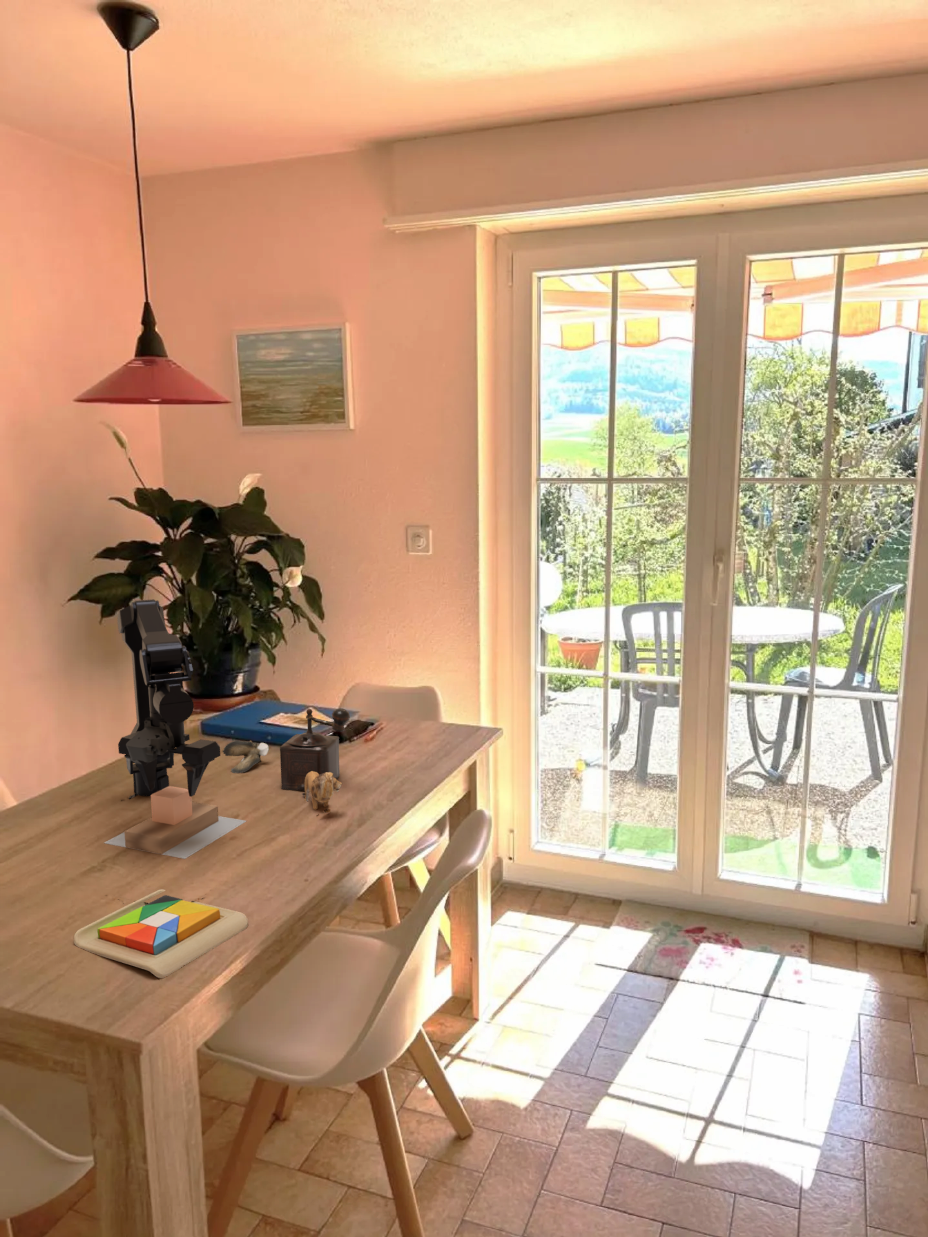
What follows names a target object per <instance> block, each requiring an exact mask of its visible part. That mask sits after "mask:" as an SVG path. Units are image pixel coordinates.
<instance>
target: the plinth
mask: <svg viewBox="0 0 928 1237" xmlns="http://www.w3.org/2000/svg"><path fill="white" fill-rule="evenodd" d="M218 816H219V806H218V805H215V804H207V803H203V802H202V803H201V802H197V801H196V802H195V801H192V816H190V817H188V818H186V819H185V820H183V821H181V822H179V823H177V824H175V825H171V824H166V823H160V822H155V821H152V816H150V817H148V818H147V819H145V820H143V821H141V822H140V823H138V824H136V825H134V826H131V827H129V828H128V829H126V830H124V831H123V833H124V832H125V846H126V847H127V848H126V847H125V848H126V849H131V848H133V850H136V849H138V851H141V850H143V851H142V852H147V851H148V853H152V852H153V854H157V853H158V854H157V855H162V854H163V853H165V852H166V851H168V850H170V849H171V848H173V847H175V846H177V845H178V844H180V843H182V842H183V841H185V840H187V839H189V838H190V837H192V836H194V835H195V834H197V833H199V832H201V831H202V830H204V829H206V828H207V827H209V826H211V825H213V824H214V823H216V822H218V821H219V819H218Z"/></svg>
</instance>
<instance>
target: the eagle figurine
mask: <svg viewBox="0 0 928 1237" xmlns="http://www.w3.org/2000/svg"><path fill="white" fill-rule="evenodd" d="M269 750H270V749H269V745H268V744H267V743H266V742H265V743H264V742H260V743H259V745H258V743H257V742H254V743H253V741H252V740H249V741H244V740H243V741H242V740H233V741H231V742H228V743H227V744H226V745H225V746H224V748H223V750H222V753H223V755H224V756H226V757H240V756H243V758H242V760H240V762H239V763H237V765H235V766H234V767H232V768H231V769H230V772H231V773H233V774H242V773H245V772H247V771H249V770H251V768H253V766H255V765H256V764H258V763H262V759H261V758H262V757H264V756H267V754H268V753H269ZM261 756H262V757H261Z"/></svg>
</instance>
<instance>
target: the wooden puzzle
mask: <svg viewBox="0 0 928 1237" xmlns="http://www.w3.org/2000/svg"><path fill="white" fill-rule="evenodd" d="M164 892H166V889H158V890H156V891H153V892H151V893H150V894H147V895H145V896H143V897H142V898H139V899H137V900H135V901H134V902H131V903H129V904H127V905H125V906H123V907H121V908H118V909H117V910H115V911H113V912H111V913H109V914H107V915H105V916H102V917H101V918H99V919H98V920H96V921H93V922H92V923H90V924H88V925H87V924H86V925H85V926H83V927H81V928H79V929H77V930H76V932H75V933H74V936H73V943H74V946H75V947H78V948H80V949H82V950H85V951H87V952H89V953H91V954H94V955H97V956H100V957H103V958H106V959H109V960H114V961H116V962H119V963H123V964H125V965H130V966H133V967H136V968H139V969H142V970H145V971H148V972H150V973H151V974H153V976H155V977H156V978H158V979H164V978H166V977H165V976H167V977H168V975H169V976H170V975H172V974H174V973H175V972H177V971H178V969H179V970H180V969H182V968H183V965H185V966H187V965H188V963H189V962H190V963H192V962H193V960H194V961H195V960H197V959H199V958H200V957H202V956H203V955H205V954H207V953H208V952H210V951H211V949H212V950H213V949H215V948H216V947H218V946H220V945H222V944H223V943H225V942H227V941H228V940H230V939H231V938H233V937H234V936H237V935H239V933H241V932H243V931H244V930H246V929H247V928H248V925H249V919H248V916H246V914H244V913H243V912H241V911H236V910H233V909H228V908H225V907H220V906H217V905H216V906H215V905H212V904H207V903H205V902H204V903H203V902H199V901H195V900H191V901H187V900H183V898H179V897H175V896H170V895H166V894H164V895H162V896H160V897H159V898H156V899H154V900H153V901H150V902H147V901H148V900H150V899H152V898H154V897H156V896H158V895H160V894H162V893H164ZM214 947H215V948H214ZM204 953H205V954H204ZM201 955H202V956H201ZM199 956H200V957H199ZM196 958H197V959H196ZM191 961H192V962H191ZM190 963H189V964H190ZM186 964H187V965H186ZM181 967H182V968H181ZM176 970H177V971H176ZM174 971H175V972H174ZM173 972H174V973H173ZM171 973H172V974H171Z"/></svg>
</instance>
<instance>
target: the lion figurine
mask: <svg viewBox="0 0 928 1237" xmlns="http://www.w3.org/2000/svg"><path fill="white" fill-rule="evenodd" d="M304 784H305V785H304V786H305V791H304V792H303V793H301V794H302V796H304V802H308V803H309V797H310V796H309V793H310V795H311V802H312V808H313V810H318V809H319V808H318V807H319V806H318V803H323V807H327V808H325V809H324V810H323V812H324V813H326V814H329V813H331V811H332V810H331V809H330V808H328V806H329V802H330V800H331V797H333V796H334V794H335V793H334V792H337V793H338V792H340V789H341V787H342V785H343V783H342V782H341V781H339V779H338V780H337V779H336V778H334V777H333V773H331V772H329V773H328V772H326V773H323V774H320V775H319V774H318V773H317V772H313V771H311V772H309V773H308V774H307V775H306V777H305V783H304ZM318 816H320V814H319V813H318V814H316V817H318Z"/></svg>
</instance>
